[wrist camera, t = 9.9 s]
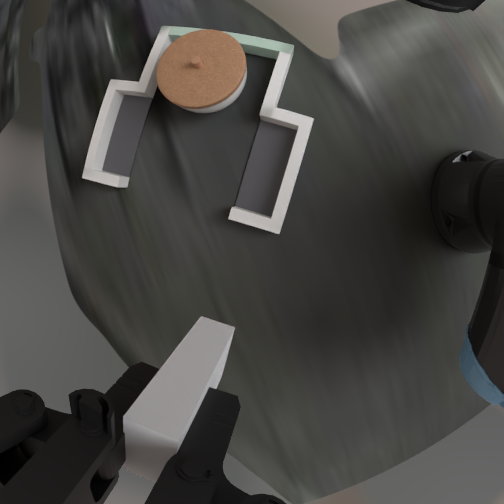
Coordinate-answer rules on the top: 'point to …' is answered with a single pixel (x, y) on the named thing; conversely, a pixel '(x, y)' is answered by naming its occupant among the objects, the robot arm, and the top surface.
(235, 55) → the lidded jar
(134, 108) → the box
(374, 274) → the top surface
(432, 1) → the protein powder
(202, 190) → the top surface
